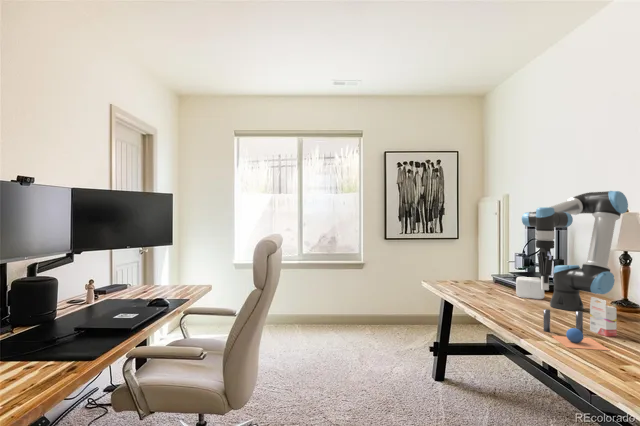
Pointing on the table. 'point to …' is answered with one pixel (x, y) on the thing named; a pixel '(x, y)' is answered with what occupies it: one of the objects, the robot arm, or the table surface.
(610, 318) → the ink cartridge box
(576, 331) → the ball
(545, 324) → the post
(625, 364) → the table surface
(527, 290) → the cable organizer
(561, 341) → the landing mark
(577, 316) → the post
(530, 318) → the table surface
